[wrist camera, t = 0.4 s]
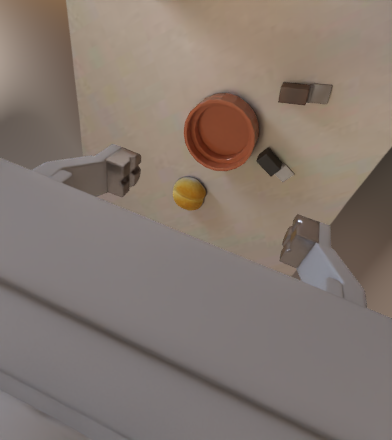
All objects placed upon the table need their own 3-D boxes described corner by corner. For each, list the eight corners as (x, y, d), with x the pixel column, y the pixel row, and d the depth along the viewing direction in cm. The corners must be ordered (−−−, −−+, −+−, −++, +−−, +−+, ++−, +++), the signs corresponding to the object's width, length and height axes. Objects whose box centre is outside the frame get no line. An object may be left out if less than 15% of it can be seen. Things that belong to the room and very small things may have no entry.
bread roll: (210, 183, 67) (204, 192, 64) (200, 209, 73) (195, 218, 70) (179, 169, 67) (172, 177, 65) (172, 196, 74) (166, 205, 71)
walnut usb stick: (280, 98, 50) (277, 103, 48) (283, 80, 48) (281, 85, 46) (326, 103, 48) (326, 109, 46) (332, 85, 46) (332, 90, 44)
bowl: (199, 83, 53) (189, 89, 50) (269, 104, 51) (265, 113, 48) (188, 148, 63) (179, 158, 59) (247, 168, 61) (242, 180, 57)
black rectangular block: (258, 155, 58) (255, 161, 56) (269, 146, 56) (266, 152, 54) (282, 181, 60) (280, 189, 58) (294, 173, 58) (292, 181, 56)
